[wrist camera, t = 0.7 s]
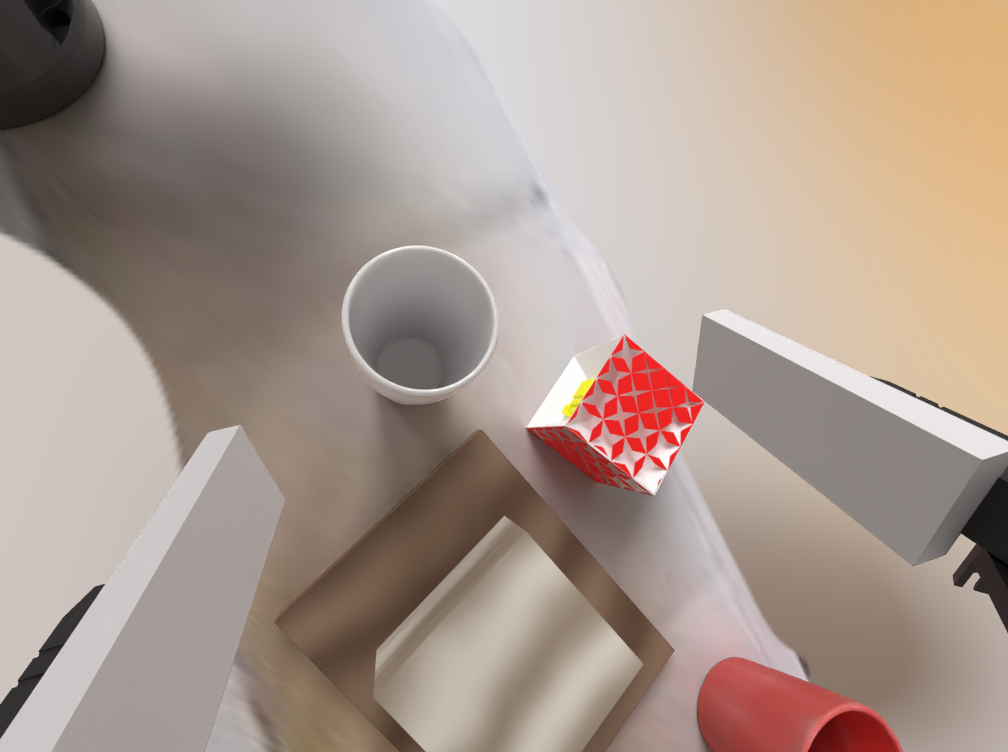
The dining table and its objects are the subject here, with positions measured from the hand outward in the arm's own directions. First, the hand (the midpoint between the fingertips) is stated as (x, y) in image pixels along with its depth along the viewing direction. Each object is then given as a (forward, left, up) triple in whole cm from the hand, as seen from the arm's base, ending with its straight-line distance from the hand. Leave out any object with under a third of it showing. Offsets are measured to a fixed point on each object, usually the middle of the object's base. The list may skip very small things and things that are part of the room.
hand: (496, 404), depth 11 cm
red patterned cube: (+9, +10, -21) cm, 25 cm away
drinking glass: (-4, +1, -21) cm, 21 cm away
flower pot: (+36, +3, -21) cm, 42 cm away
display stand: (+15, -7, -20) cm, 26 cm away
